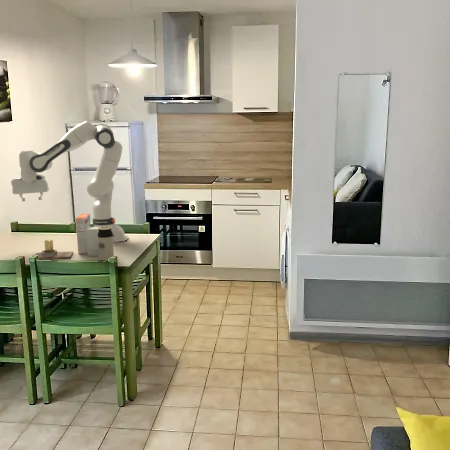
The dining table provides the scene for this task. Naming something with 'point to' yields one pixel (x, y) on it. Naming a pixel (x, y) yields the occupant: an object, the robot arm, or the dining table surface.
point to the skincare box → (92, 241)
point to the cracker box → (82, 232)
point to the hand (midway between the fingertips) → (32, 200)
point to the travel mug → (105, 242)
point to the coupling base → (55, 255)
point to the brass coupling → (48, 246)
